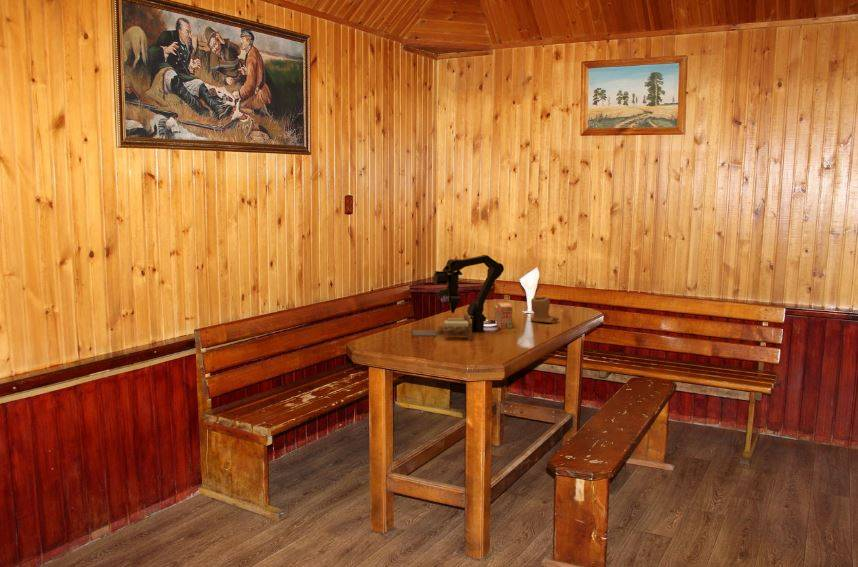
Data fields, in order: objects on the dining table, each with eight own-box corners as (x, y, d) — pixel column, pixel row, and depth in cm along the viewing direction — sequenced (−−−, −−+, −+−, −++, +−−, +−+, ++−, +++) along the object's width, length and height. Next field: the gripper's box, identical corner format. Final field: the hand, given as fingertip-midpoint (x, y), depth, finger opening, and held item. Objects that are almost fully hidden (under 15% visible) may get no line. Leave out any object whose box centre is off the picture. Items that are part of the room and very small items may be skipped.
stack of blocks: (493, 321, 424) (494, 300, 423) (504, 321, 425) (505, 300, 423) (500, 328, 403) (501, 306, 402) (512, 328, 404) (512, 306, 402)
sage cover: (467, 323, 376) (467, 318, 376) (468, 326, 368) (468, 321, 368) (444, 323, 375) (444, 318, 375) (445, 326, 368) (445, 320, 368)
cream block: (455, 331, 390) (455, 320, 390) (456, 333, 386) (456, 321, 385) (447, 331, 390) (447, 320, 389) (447, 333, 386) (448, 321, 385)
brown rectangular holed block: (466, 330, 395) (467, 314, 393) (471, 341, 370) (472, 323, 369) (437, 330, 394) (438, 314, 393) (440, 340, 369) (441, 323, 368)
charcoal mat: (435, 332, 389) (435, 330, 389) (436, 337, 377) (436, 335, 377) (412, 332, 388) (412, 330, 388) (413, 337, 376) (413, 334, 376)
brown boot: (526, 322, 421) (527, 296, 419) (534, 319, 432) (535, 294, 429) (551, 325, 414) (552, 299, 412) (559, 322, 424) (560, 296, 422)
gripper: (436, 281, 392) (435, 309, 394) (439, 286, 374) (438, 316, 376) (456, 281, 393) (456, 309, 395) (461, 286, 375) (460, 316, 377)
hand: (452, 313), depth 386 cm, fingers closed
